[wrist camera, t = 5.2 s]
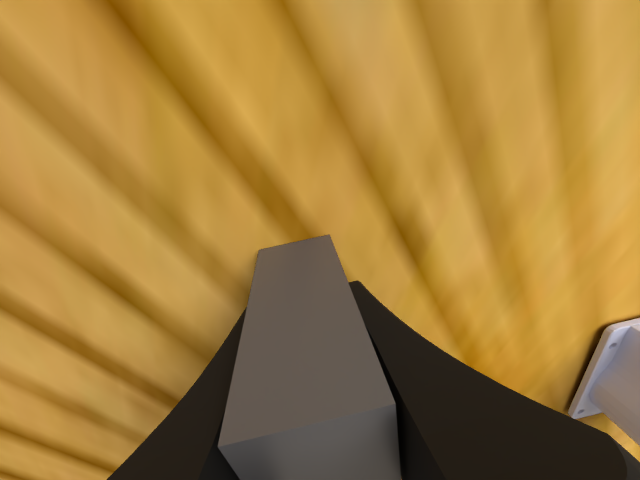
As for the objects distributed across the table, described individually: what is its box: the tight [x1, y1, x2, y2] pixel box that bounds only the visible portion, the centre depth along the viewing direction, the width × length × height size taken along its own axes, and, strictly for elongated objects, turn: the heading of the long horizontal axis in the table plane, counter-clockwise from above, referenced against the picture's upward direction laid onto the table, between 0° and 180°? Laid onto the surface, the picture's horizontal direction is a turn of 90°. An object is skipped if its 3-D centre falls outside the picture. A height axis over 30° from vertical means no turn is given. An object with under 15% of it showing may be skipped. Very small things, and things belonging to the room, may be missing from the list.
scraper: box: [218, 235, 401, 480], centre depth 12 cm, size 21×6×7 cm, turn 10°
